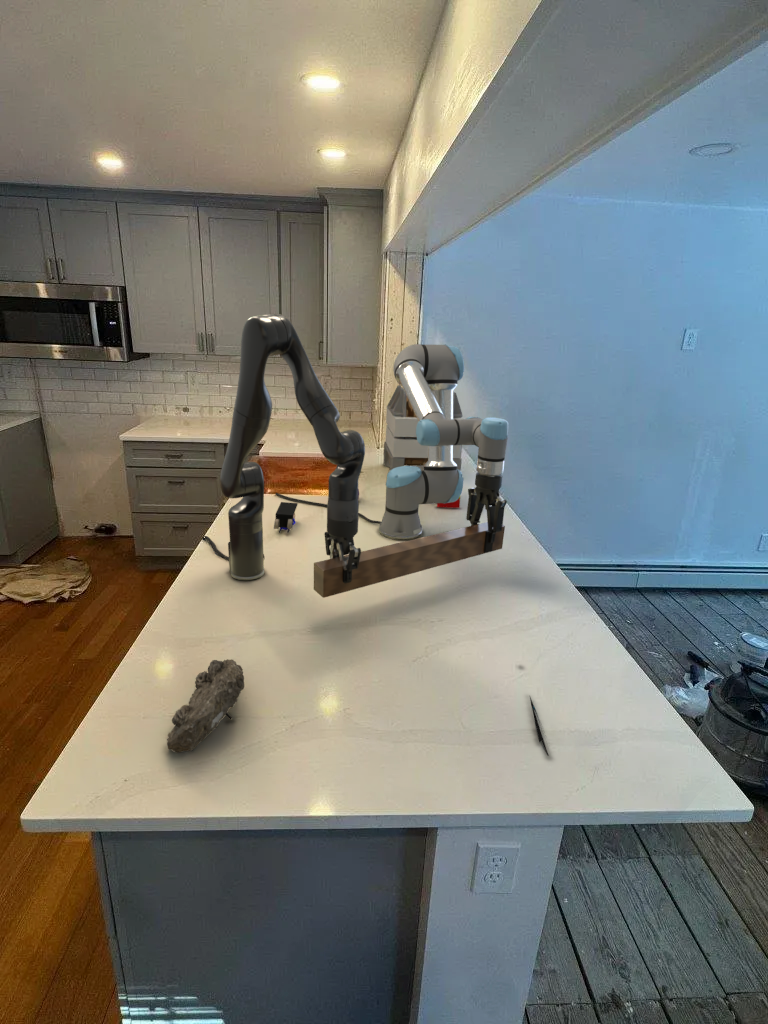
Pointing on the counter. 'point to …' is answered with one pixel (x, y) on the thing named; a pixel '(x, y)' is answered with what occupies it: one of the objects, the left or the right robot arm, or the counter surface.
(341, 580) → the bar
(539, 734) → the feather
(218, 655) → the counter surface
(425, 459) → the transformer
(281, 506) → the figurine character
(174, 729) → the fossil
